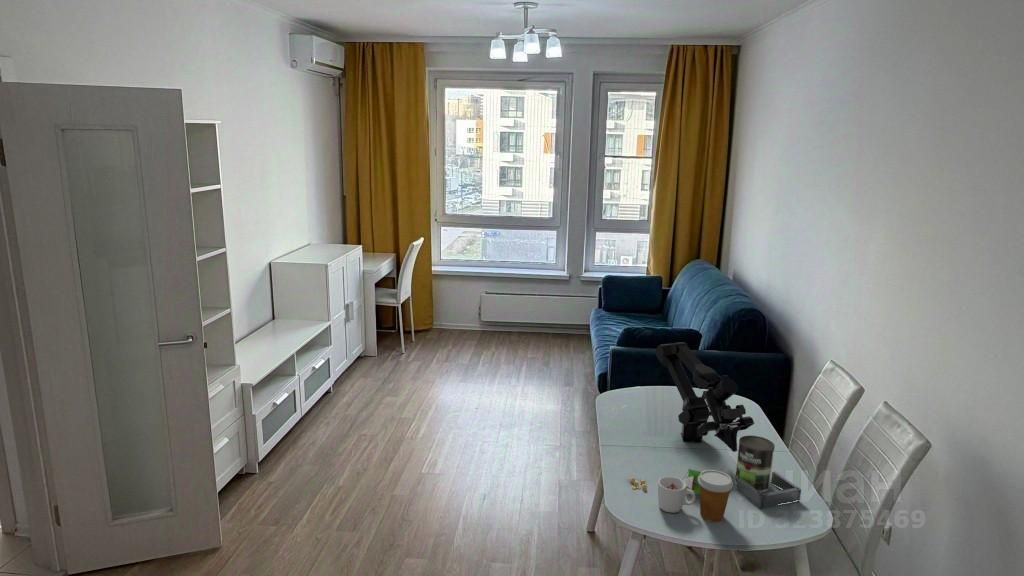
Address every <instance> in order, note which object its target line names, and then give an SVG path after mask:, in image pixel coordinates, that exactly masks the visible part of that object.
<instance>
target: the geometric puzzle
mask: <svg viewBox="0 0 1024 576" xmlns="http://www.w3.org/2000/svg"><path fill="white" fill-rule="evenodd" d="M701 472H702V471H698V470H695V469H690V468H689V469H688V470H687V472H686V474H685V475H684V477H683V478H682V481H684V482H685V484H686V488H687V489H690V490H692V491H694V493H695V495H699V496H700V493H699V492H700V491H699V483H698V476H700V473H701ZM686 475H687V476H686Z"/></svg>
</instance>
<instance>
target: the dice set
mask: <svg viewBox="0 0 1024 576" xmlns="http://www.w3.org/2000/svg"><path fill="white" fill-rule="evenodd" d="M629 479H630V480H629V482H630V484H634V486H631V489H632V490H636V489H637V490H640V489H641V491H643V490H644V491H643V492H646V491H647V490H648V485H647V484H646V480H645V479H641V480H640V484H639V480H636V478H635V477H630V478H629ZM639 485H640V486H639ZM641 485H642V486H641Z"/></svg>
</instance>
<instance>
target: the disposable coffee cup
mask: <svg viewBox="0 0 1024 576" xmlns="http://www.w3.org/2000/svg"><path fill="white" fill-rule="evenodd" d="M700 472H701V473H700V476H698V483H699V491H700V492H699V493H700V495H699V512H700V513H699V514H700V517H701V518H702V519H704V520H706V521H708V522H714V523H715V522H716V523H717V522H721V521H722V520H723V519H724V515H725V513H726V508H727V504H728V500H729V497H730V496H729V495H730V492H731V490H732V488H733V485H734V483H733V481H732V478H731V476H730V475H729V474H727V473H725V472H724V471H720V470H715V469H706V470H703V471H700Z"/></svg>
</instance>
